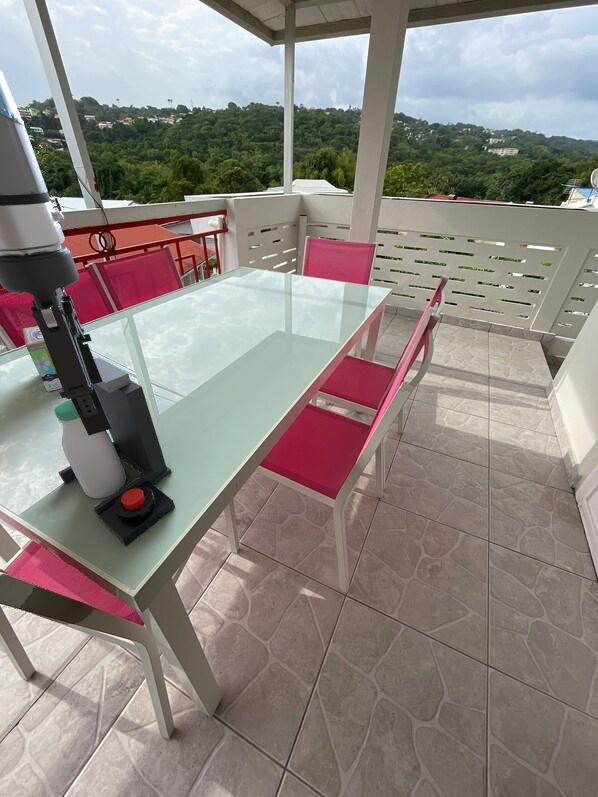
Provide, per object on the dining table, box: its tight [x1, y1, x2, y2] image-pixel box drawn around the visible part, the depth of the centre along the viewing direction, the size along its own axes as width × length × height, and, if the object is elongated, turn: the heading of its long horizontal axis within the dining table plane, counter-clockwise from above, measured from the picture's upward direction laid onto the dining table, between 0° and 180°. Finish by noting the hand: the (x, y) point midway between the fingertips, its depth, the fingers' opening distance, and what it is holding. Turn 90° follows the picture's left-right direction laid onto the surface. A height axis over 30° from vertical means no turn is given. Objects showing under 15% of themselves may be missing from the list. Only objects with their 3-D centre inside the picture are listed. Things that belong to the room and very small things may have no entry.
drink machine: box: [58, 356, 173, 521], centre depth 62 cm, size 15×16×24 cm
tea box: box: [22, 325, 63, 392], centre depth 98 cm, size 15×10×15 cm
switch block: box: [99, 481, 176, 547], centre depth 61 cm, size 10×8×4 cm
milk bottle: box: [54, 399, 127, 499], centre depth 62 cm, size 8×8×20 cm
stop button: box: [121, 488, 145, 511], centre depth 59 cm, size 4×4×2 cm
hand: (96, 404), depth 48 cm, fingers open, 13 cm apart
